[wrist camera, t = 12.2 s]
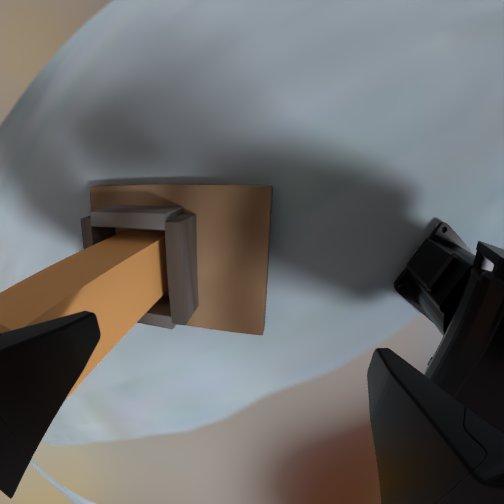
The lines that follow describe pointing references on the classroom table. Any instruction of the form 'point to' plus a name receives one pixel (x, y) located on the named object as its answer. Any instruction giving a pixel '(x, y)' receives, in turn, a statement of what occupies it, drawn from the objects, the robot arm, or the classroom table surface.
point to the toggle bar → (94, 289)
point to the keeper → (196, 248)
